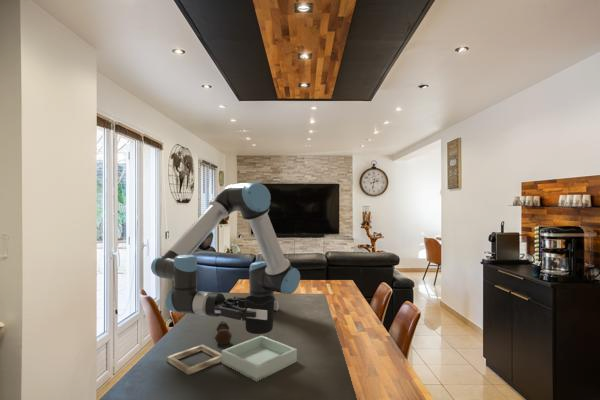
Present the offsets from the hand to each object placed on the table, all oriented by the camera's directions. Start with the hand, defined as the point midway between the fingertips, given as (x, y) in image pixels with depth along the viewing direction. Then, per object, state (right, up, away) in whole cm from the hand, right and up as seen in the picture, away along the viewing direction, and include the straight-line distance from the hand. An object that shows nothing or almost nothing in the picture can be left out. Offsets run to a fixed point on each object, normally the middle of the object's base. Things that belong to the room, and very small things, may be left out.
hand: (272, 310), depth 108 cm
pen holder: (-4, -7, +1) cm, 8 cm away
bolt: (-21, -18, +22) cm, 35 cm away
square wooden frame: (-25, -17, +2) cm, 30 cm away
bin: (-4, -17, +1) cm, 18 cm away
